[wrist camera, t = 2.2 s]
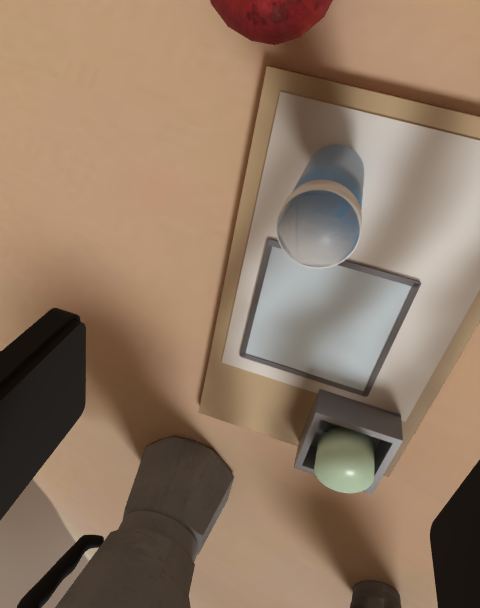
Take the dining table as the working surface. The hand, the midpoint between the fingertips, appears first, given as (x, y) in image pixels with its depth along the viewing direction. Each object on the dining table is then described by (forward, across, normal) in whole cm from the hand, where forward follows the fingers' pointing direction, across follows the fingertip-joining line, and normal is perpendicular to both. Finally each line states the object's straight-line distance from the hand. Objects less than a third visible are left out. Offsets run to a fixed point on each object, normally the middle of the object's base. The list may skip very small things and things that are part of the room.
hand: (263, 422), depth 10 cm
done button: (+17, -7, +17) cm, 25 cm away
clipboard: (+19, -3, +7) cm, 21 cm away
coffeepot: (+19, +6, +29) cm, 36 cm away
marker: (+18, 0, -2) cm, 18 cm away
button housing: (+18, -7, +17) cm, 26 cm away
